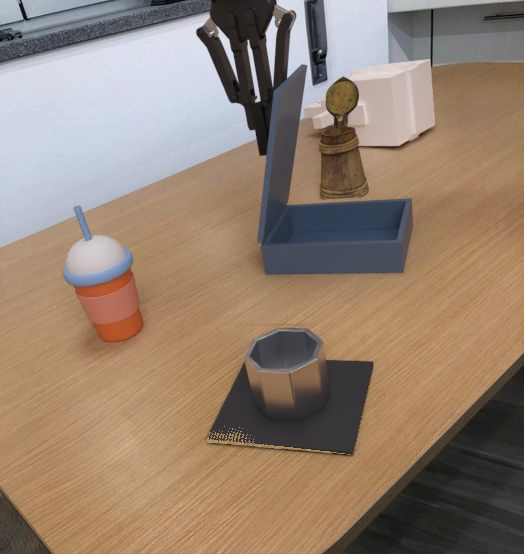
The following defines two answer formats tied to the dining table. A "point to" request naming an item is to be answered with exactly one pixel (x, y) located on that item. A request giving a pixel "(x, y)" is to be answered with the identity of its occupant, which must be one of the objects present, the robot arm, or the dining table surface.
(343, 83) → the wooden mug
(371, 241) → the blue storage box
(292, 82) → the lid
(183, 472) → the dining table surface
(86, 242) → the cup with straw
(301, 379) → the octagonal metal cup
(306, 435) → the mat
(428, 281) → the dining table surface
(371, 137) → the blocky voxel creature
